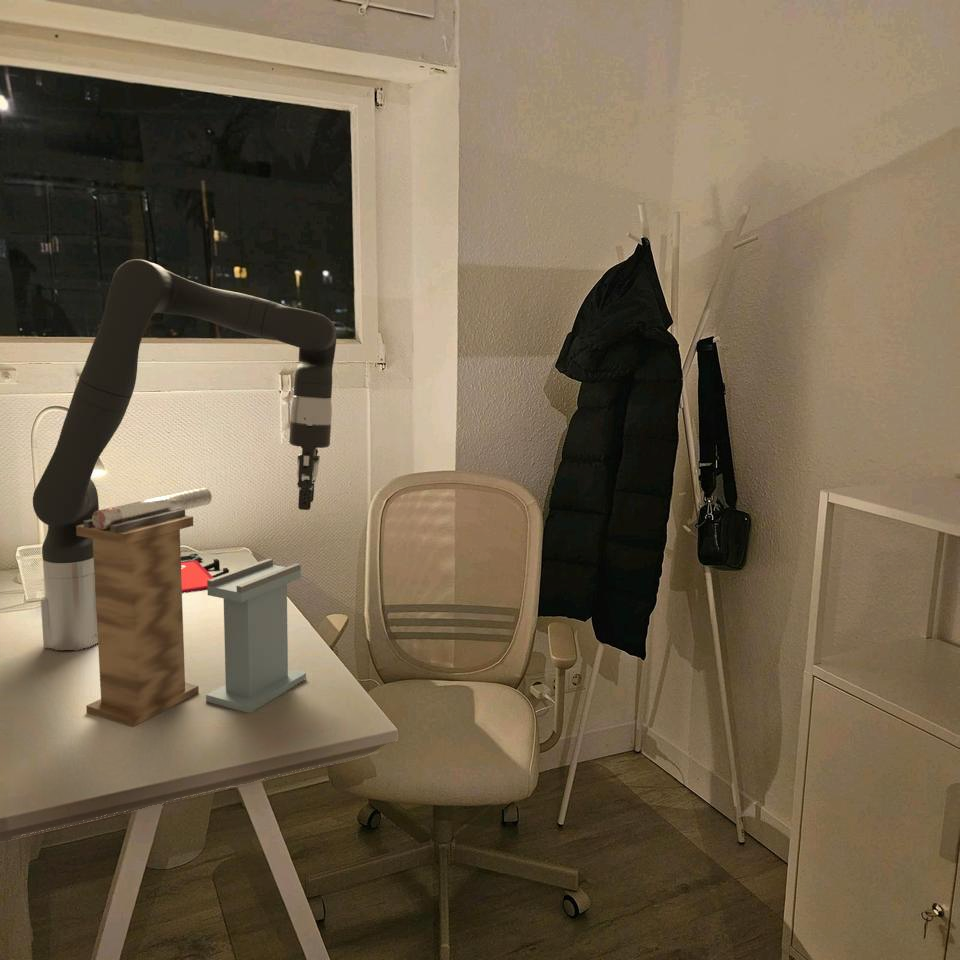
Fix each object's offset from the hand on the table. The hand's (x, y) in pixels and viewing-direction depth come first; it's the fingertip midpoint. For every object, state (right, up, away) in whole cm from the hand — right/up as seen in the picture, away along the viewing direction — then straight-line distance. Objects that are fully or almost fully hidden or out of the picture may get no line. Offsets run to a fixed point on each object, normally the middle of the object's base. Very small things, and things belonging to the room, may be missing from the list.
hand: (305, 505), depth 158 cm
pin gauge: (-19, -1, -24) cm, 31 cm away
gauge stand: (-22, -32, -22) cm, 44 cm away
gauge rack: (-5, -31, -16) cm, 35 cm away
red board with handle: (-40, -19, +49) cm, 66 cm away
